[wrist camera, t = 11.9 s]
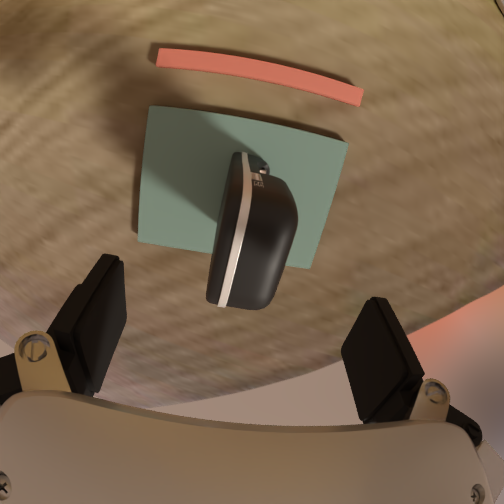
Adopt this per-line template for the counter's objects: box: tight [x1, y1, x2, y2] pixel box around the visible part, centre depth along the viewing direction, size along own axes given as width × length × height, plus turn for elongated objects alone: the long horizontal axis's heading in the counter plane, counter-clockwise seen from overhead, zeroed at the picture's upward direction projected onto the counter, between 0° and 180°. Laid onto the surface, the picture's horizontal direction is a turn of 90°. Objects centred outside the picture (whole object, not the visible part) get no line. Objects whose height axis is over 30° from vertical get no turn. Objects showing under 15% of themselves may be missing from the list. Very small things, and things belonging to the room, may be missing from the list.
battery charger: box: [206, 152, 298, 310], centre depth 19 cm, size 7×4×11 cm, turn 166°
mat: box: [138, 105, 349, 269], centre depth 24 cm, size 16×12×1 cm
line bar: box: [156, 48, 364, 107], centre depth 20 cm, size 16×2×1 cm, turn 78°
